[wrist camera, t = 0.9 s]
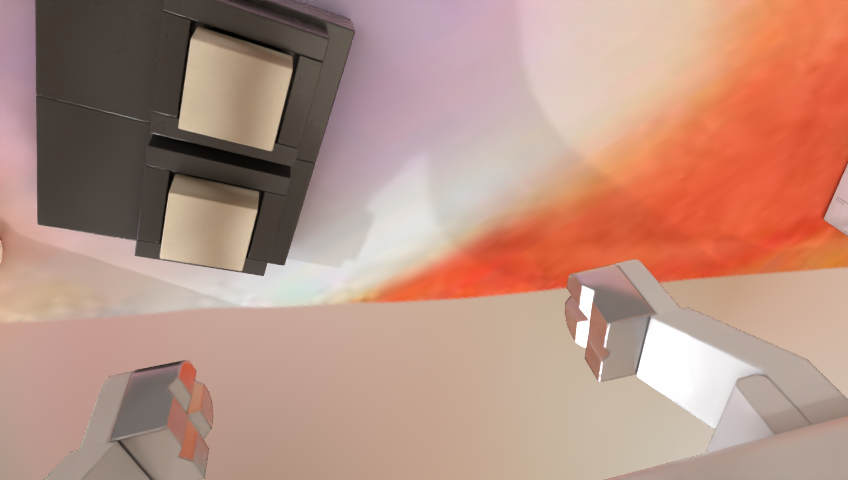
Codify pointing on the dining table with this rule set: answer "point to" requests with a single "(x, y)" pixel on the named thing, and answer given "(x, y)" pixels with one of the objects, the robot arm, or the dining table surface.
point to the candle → (1, 251)
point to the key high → (234, 89)
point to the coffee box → (839, 206)
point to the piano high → (168, 54)
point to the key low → (208, 223)
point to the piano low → (150, 181)
